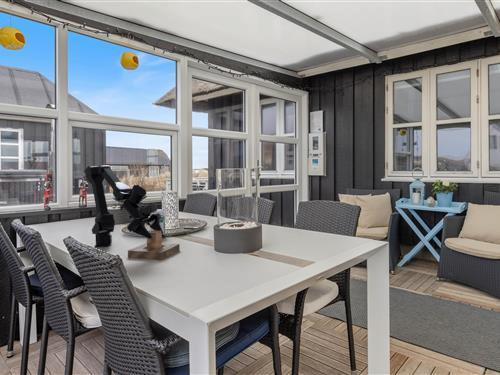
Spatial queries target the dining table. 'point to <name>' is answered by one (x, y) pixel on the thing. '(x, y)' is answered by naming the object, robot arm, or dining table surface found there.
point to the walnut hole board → (153, 251)
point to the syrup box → (162, 219)
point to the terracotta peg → (155, 240)
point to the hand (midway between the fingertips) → (157, 235)
